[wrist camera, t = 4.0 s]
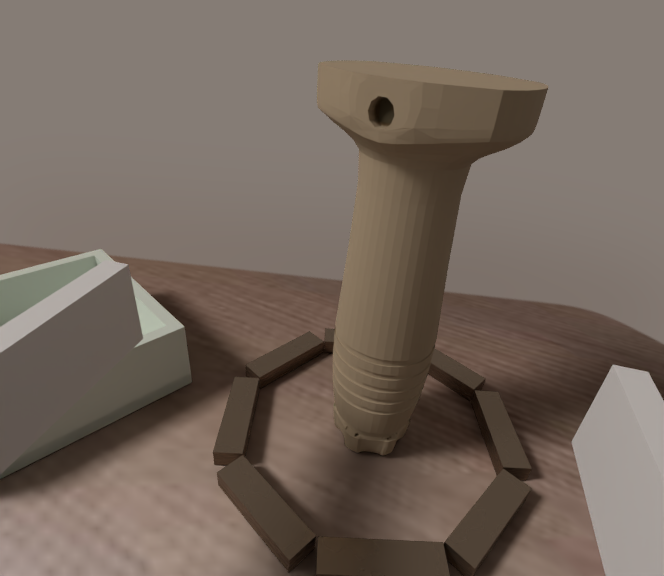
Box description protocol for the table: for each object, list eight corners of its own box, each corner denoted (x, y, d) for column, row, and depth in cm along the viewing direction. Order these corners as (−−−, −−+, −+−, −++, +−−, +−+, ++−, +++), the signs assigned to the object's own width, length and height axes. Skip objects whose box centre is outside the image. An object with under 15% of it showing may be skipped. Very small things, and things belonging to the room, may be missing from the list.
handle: (341, 372, 23) (375, 59, 16) (453, 433, 20) (565, 83, 13) (281, 427, 20) (286, 62, 12) (405, 511, 17) (517, 96, 9)
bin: (192, 382, 22) (184, 326, 20) (-59, 508, 16) (-102, 445, 14) (112, 297, 28) (101, 248, 26) (-94, 366, 22) (-128, 307, 20)
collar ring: (565, 441, 20) (571, 429, 20) (389, 697, 12) (393, 686, 12) (359, 314, 28) (360, 304, 28) (166, 419, 20) (163, 407, 20)
